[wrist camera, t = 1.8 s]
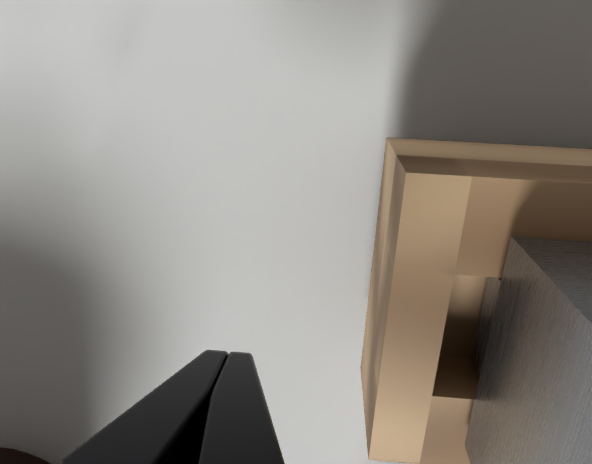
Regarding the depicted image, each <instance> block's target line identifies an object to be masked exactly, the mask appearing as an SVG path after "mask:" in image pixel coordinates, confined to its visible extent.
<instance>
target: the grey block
mask: <svg viewBox="0 0 592 464" xmlns="http://www.w3.org/2000/svg"><path fill="white" fill-rule="evenodd" d="M471 358H472V361H473V363H474V365H475V367H476V370H477V372H478V374H479V381H478V386H477V390H476V395H475V399H474V403H473V408H472V412H471V417H470V421H469V426H468V430H467V435H466V439H465V444H464V445H465V448H466V451H467V454H468V457H469V460H470V464H592V241H577V240H562V239H547V238H531V237H516V236H511V239H510V243H509V248H508V252H507V257H506V261H505V265H504V270H503V274H502V278H497V277H488V280H487V285H486V289H485V294H484V299H483V303H482V308H481V313H480V318H479V322H478V327H477V332H476V336H475V341H474V346H473V350H472V355H471Z"/></svg>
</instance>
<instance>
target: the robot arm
mask: <svg viewBox="0 0 592 464" xmlns="http://www.w3.org/2000/svg"><path fill="white" fill-rule="evenodd" d="M61 464H285V463H284V460H283V457H282V453H281V450H280V447H279V443H278V440H277V436H276V433H275V430H274V426H273V423H272V420H271V416H270V413H269V410H268V406H267V403H266V400H265V396H264V393H263V390H262V386H261V383H260V380H259V376H258V373H257V370H256V366H255V363H254V360H253V356H252V355H251V354H250V353H243V352H231V353H229V354H228V352H226V351H218V350H206V351H204V352H203V353H202V354H200V355H199V356H198V357H196V358H195V359H194V360H192V361H191V362H190V363H188V364H187V365H186V366H184V367H183V368H182V369H181V370H179V371H178V372H177V373H175V374H174V375H173V376H171V377H170V378H169V379H167V380H166V381H165V382H163V383H162V384H161V385H160V386H158V387H157V388H156V389H154V390H153V391H152V392H150V393H149V394H148V395H146V396H145V397H144V398H143V399H141V400H140V401H139V402H137V403H136V404H135V405H133V406H132V407H131V408H129V409H128V410H127V411H125V412H124V413H123V414H122V415H120V416H119V417H118V418H116V419H115V420H114V421H112V422H111V423H110V424H108V425H107V426H106V427H104V428H103V429H102V430H101V431H99V432H98V433H97V434H95V435H94V436H93V437H91V438H90V439H89V440H87V441H86V442H85V443H83V444H82V445H81V446H80V447H78V448H77V449H76V450H74V451H73V452H72V453H70V454H69V455H68V456H66V457H65V458H64V459H62V461H61Z"/></svg>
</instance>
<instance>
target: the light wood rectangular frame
mask: <svg viewBox="0 0 592 464" xmlns="http://www.w3.org/2000/svg"><path fill="white" fill-rule="evenodd" d="M511 236H516V237H531V238H547V239H562V240H577V241H592V149H580V148H562V147H545V146H527V145H509V144H492V143H474V142H456V141H439V140H421V139H403V138H386V147H385V156H384V165H383V173H382V182H381V191H380V200H379V209H378V218H377V227H376V236H375V244H374V253H373V262H372V271H371V280H370V289H369V298H368V307H367V315H366V324H365V333H364V342H363V351H362V360H361V377H362V389H363V401H364V413H365V424H366V436H367V448H368V460H379V461H390V462H402V463H413V464H470V460H469V457H468V454H467V451H466V448H465V445H464V444H465V439H466V435H467V430H468V426H469V421H470V417H471V412H472V408H473V403H474V399H475V395H476V390H477V386H478V381H479V374H478V372H477V370H476V367H475V365H474V363H473V361H472V358H471V355H472V350H473V346H474V341H475V336H476V332H477V327H478V322H479V318H480V313H481V308H482V303H483V299H484V294H485V289H486V285H487V280H488V277H497V278H502V274H503V270H504V265H505V261H506V257H507V252H508V248H509V243H510V239H511Z"/></svg>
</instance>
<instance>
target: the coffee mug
mask: <svg viewBox="0 0 592 464" xmlns="http://www.w3.org/2000/svg"><path fill="white" fill-rule="evenodd" d="M0 464H49V463H48V462H46V461H44V460H42V459H40V458H38V457H35V456H33V455H31V454H28V453H24V452H21V451H17V450H14V449H6V448H0Z"/></svg>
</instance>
